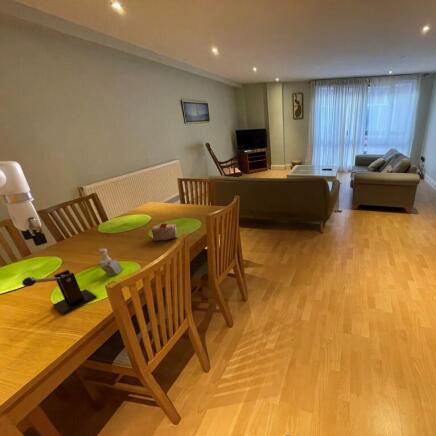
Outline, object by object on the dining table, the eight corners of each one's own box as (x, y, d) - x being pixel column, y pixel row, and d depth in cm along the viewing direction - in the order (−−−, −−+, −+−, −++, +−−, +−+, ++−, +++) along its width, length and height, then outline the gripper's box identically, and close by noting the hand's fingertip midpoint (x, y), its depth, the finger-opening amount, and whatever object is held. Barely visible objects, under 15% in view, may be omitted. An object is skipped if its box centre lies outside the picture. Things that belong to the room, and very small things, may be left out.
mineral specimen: (100, 272, 116) (100, 257, 115) (122, 270, 121) (122, 255, 119) (98, 279, 110) (97, 264, 108) (120, 277, 115) (120, 262, 113)
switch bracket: (63, 315, 92) (50, 285, 86) (53, 306, 96) (40, 278, 90) (96, 297, 100) (86, 270, 95) (86, 291, 105) (75, 264, 99)
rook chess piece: (101, 265, 123) (96, 252, 120) (102, 261, 126) (97, 248, 123) (111, 263, 125) (107, 249, 122) (112, 259, 129) (108, 246, 126)
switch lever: (23, 288, 82) (25, 279, 82) (19, 285, 84) (21, 276, 84) (70, 282, 94) (72, 274, 94) (67, 280, 95) (68, 272, 95)
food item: (178, 234, 157) (175, 220, 153) (177, 239, 150) (174, 225, 146) (155, 237, 153) (152, 223, 149) (153, 242, 146) (149, 228, 142)
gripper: (-8, 196, 84) (13, 240, 90) (10, 204, 77) (31, 251, 83) (22, 192, 90) (40, 233, 97) (41, 198, 83) (59, 242, 89)
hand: (36, 241), depth 90 cm, fingers open, 9 cm apart
